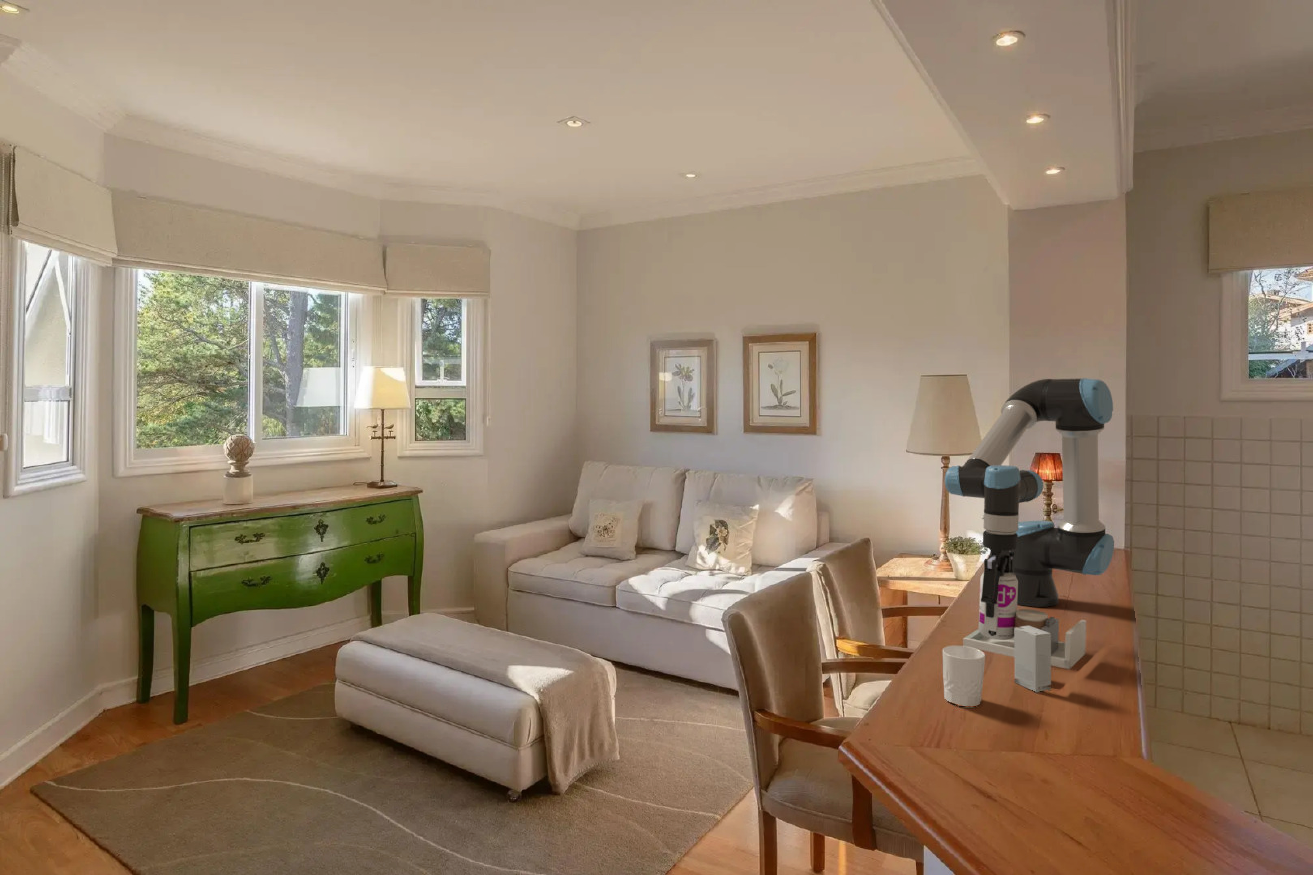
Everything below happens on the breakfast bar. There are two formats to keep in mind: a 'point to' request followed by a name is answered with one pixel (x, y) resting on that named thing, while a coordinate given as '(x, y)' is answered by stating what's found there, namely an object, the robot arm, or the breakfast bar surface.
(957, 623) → the breakfast bar surface
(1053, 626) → the pusher
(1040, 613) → the jar
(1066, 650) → the lane
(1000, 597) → the supplement can
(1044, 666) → the skincare box
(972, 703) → the white cup
